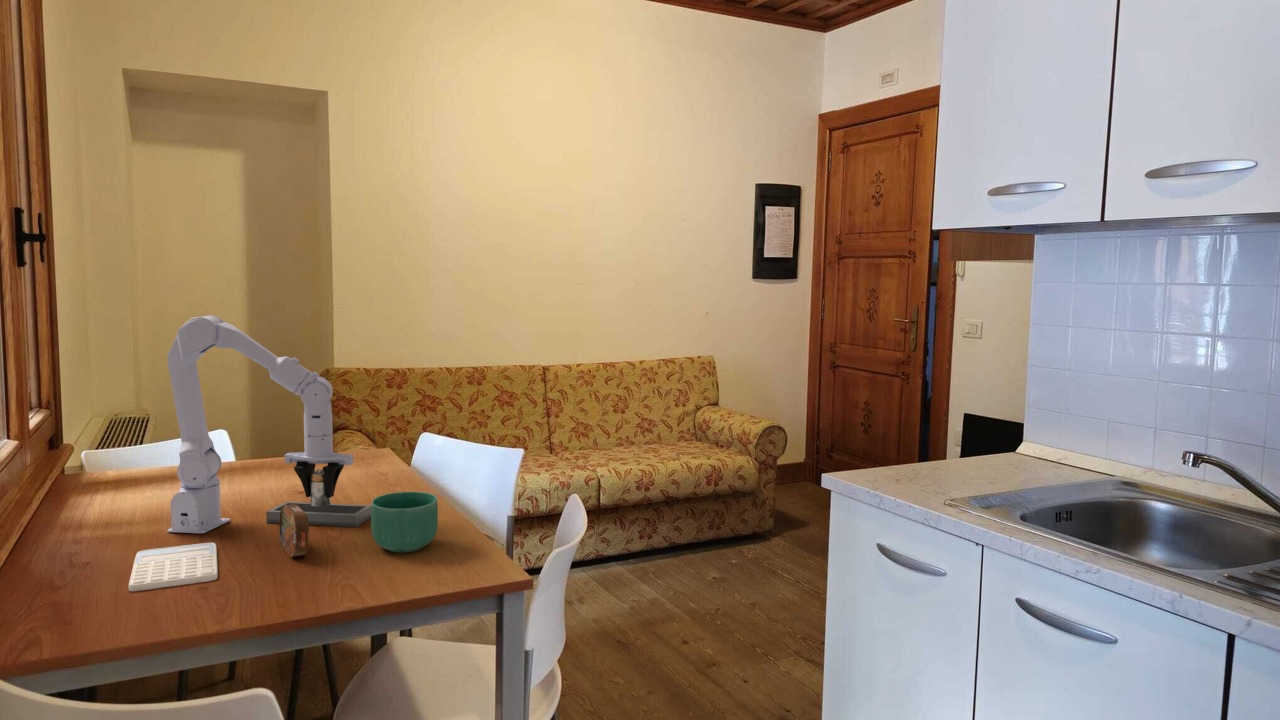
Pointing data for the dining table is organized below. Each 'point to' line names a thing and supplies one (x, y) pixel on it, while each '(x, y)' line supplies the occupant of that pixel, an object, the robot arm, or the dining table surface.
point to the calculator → (174, 566)
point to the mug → (404, 520)
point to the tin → (294, 530)
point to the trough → (327, 514)
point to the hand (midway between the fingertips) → (320, 496)
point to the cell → (318, 489)
